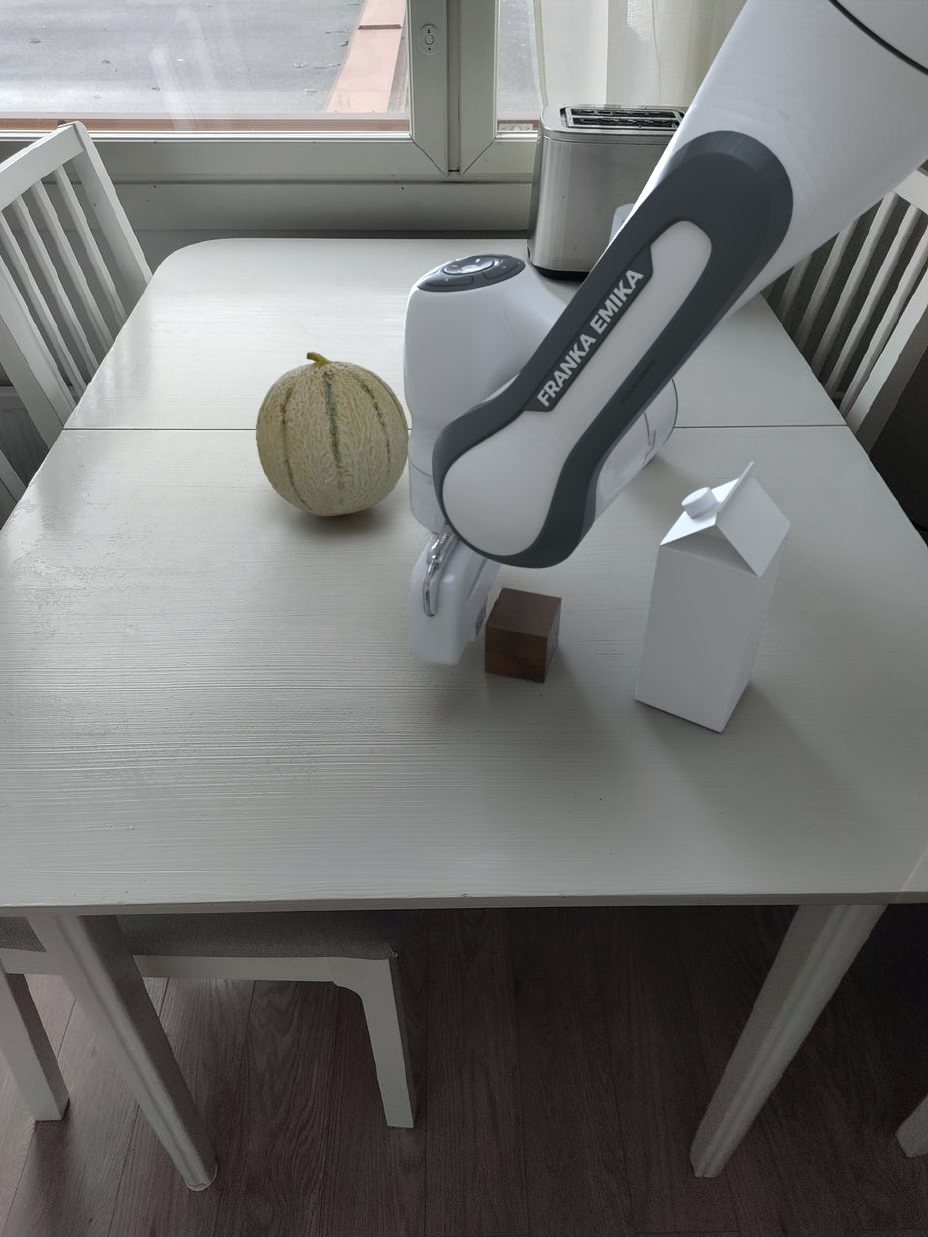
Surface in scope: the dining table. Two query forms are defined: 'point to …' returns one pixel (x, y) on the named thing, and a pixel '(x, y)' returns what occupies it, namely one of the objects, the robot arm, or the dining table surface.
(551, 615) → the walnut block
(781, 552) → the milk carton
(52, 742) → the dining table surface
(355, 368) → the cantaloupe
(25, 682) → the dining table surface
